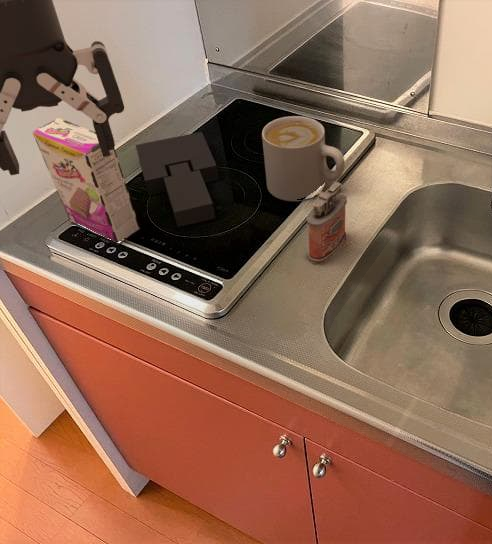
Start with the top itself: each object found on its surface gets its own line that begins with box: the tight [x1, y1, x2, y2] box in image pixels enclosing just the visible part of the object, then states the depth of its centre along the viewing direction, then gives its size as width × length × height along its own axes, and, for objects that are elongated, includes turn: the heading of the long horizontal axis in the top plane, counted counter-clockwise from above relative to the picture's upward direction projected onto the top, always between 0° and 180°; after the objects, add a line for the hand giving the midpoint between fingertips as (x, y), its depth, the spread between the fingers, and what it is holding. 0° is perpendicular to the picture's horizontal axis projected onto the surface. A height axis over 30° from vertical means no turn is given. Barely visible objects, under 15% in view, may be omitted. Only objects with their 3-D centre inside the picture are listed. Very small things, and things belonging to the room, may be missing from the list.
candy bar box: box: [32, 117, 141, 246], centre depth 84 cm, size 11×5×16 cm, turn 58°
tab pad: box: [164, 162, 216, 228], centre depth 93 cm, size 6×13×3 cm, turn 21°
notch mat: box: [135, 131, 220, 196], centre depth 100 cm, size 12×12×3 cm
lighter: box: [306, 181, 348, 266], centre depth 82 cm, size 8×3×10 cm, turn 147°
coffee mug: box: [261, 115, 346, 202], centre depth 93 cm, size 13×10×10 cm
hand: (61, 161), depth 56 cm, fingers open, 8 cm apart
